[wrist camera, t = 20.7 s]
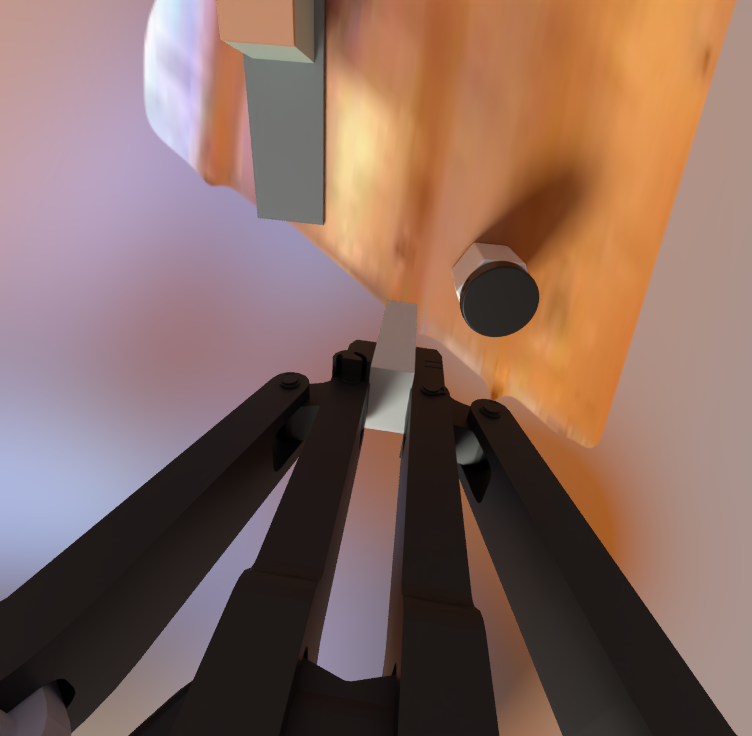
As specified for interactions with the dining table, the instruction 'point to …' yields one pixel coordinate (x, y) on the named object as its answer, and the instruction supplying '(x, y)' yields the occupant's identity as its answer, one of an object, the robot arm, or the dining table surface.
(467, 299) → the jar
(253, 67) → the mat
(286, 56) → the block
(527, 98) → the dining table surface
